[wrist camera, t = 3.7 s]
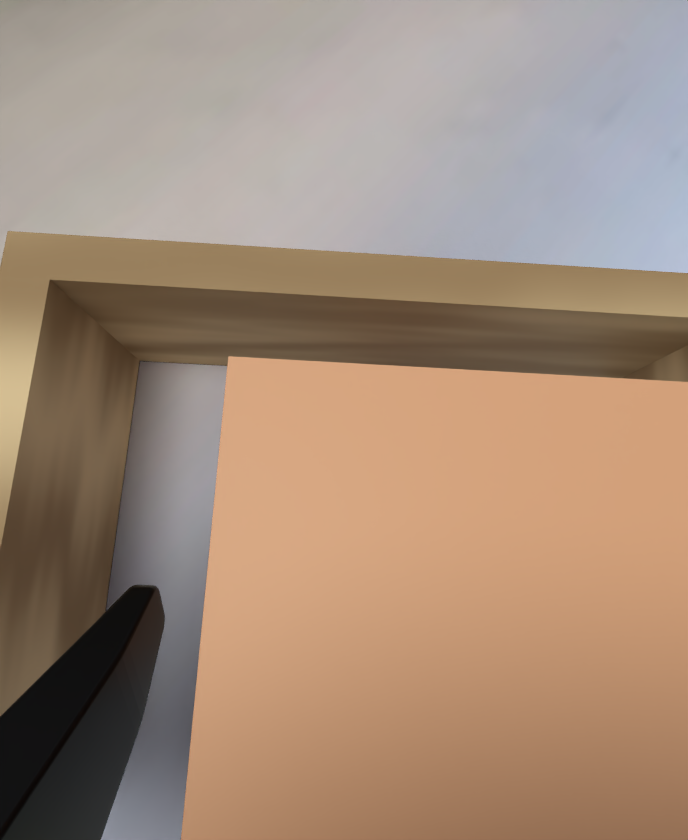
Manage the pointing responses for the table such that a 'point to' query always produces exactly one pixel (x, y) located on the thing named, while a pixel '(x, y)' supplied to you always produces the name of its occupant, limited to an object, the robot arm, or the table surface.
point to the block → (443, 608)
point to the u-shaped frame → (256, 338)
